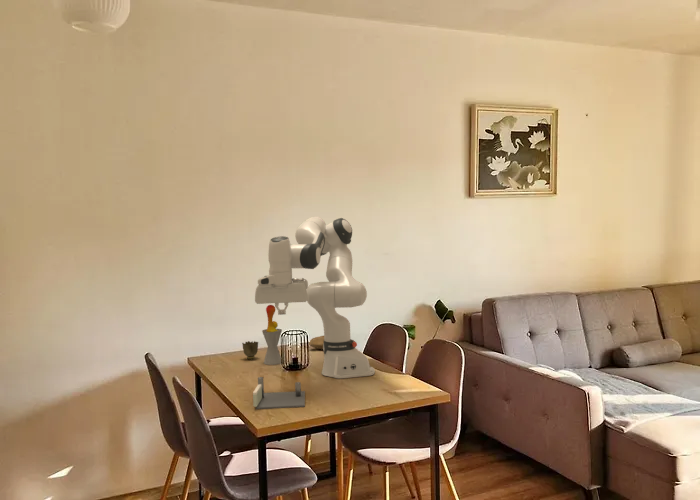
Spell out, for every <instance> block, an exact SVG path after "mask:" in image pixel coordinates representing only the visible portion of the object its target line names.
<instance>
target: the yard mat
mask: <svg viewBox="0 0 700 500" xmlns="http://www.w3.org/2000/svg"><path fill="white" fill-rule="evenodd" d="M305 402H306V390H301V396H299V397H296V393H295V391H279V392H264V398H262V399H261V400H260V402H259V404H258V406H257V407H255V410H269V409H290V408H292V409H293V408H305V407H306V406H305V404H306V403H305Z"/></svg>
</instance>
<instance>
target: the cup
mask: <svg viewBox="0 0 700 500" xmlns="http://www.w3.org/2000/svg"><path fill="white" fill-rule="evenodd" d="M241 343H242V349H243V354H244V355H245V356H246V358H247V360H249V359H250V361H251V359H252V360H254V359H255V358H256V355H257V354H258V347H259V341H255V340H254V341H249V340H248V341H245V343H244V342H241Z"/></svg>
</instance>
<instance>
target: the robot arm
mask: <svg viewBox="0 0 700 500" xmlns="http://www.w3.org/2000/svg"><path fill="white" fill-rule="evenodd" d="M352 237H353V228H352V225H351V223H350V222H349V221H348V220H346V219H345V218H342V217H340V218H336V219H334V220H333V221H331V222H330V223H328V224H326V222H325V220H324V219H323V218H321V217H320V216H311V217H309V218H307V219H305V220H304V221H302V223H301V224H300V225H299V226H298V227H297V228H296V230H295V240H296V243H293V244H291V241H290V237H288V236H284V235H283V236H282V235H281V236H280V235H279V236H274V237H272V238H270V239H269V243H268V252H267V253H268V254H267V255H268V263H269V269H268V275H264V276H262V277H259V278H258V279H257V284H258V285H257V286H256V288H255V293H254V303H256V304H257V305H258V304H259V305H261V304H265V305H266V304H274V307H275V309H276V310H277V314H278V316H279V315H287V311H286V310H287V308H288V306H289V303H290V304H291V303H306V302H307V303H308V305H309V306H310V307H312V308H313V309H314V310H315V311H316V312H317V313H318V315H319V316H320V318H321V320H322V321H321V322H322V326H323V334H324V335H323V336H324V343H323V350H322V351H323V354H324V355H323V357H324V358H323V365H322V370H321V375H323V376H325V377H330V378H335V379H347V378H348V379H349V378H359V377H360V378H361V377H368V376H373V375H375V373H376V371H375V368H374V367H373V366H371V365H370V362H369V358H368V357H367V355H365V354H364V353H363V352H361V350H358V348H357V346H358V343H357V341H355V340H354V339H351V323H350V320H349V319H348V318H346V317H345V316H343V315H341V314H339V313H338V312H337V310H336V308H338V309H339V308H355V307H361V306H362V305H364V303H366V300H367V296H368V293H367V289H366V286H365V285H364V284H363V283H362V282H360V281H358V280H356V279H355V278H354V277H353V255H352V252H351V249H350V248H349V247H348V245H350V244H351V242H352ZM328 253H329V256H328V260H327V266H326V272H325V276H326V279H327V281H318V282H314V283H310V284H309V282H308V280H307V279H305V278H303V277H300V278H297V277H295V278H293V269H307V270H314V269H316V268H317V267H318V266H319V265H320V262H321V256H324V255H327V254H328ZM283 303H284V309H283V308H282V309H280V308H279V305H280V304H283Z"/></svg>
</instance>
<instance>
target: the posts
mask: <svg viewBox="0 0 700 500" xmlns="http://www.w3.org/2000/svg"><path fill="white" fill-rule="evenodd" d="M258 384H262V398H264V393H265V389H264V388H265V387H264V376H258V377H257V385H258ZM294 385H295V387H294V388H295V391H294V392H295V393H296V397H299V396H301V391H302V387H301V386H302V383H301V381H296V382H295V383H294Z"/></svg>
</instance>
